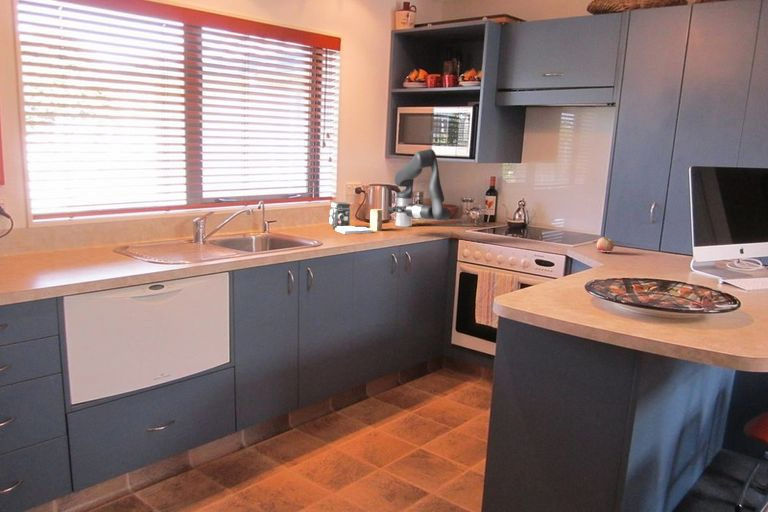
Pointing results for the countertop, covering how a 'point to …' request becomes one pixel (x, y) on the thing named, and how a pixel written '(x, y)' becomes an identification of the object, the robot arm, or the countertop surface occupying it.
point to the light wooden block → (376, 219)
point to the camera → (339, 214)
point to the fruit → (605, 244)
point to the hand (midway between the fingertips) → (392, 208)
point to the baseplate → (353, 230)
